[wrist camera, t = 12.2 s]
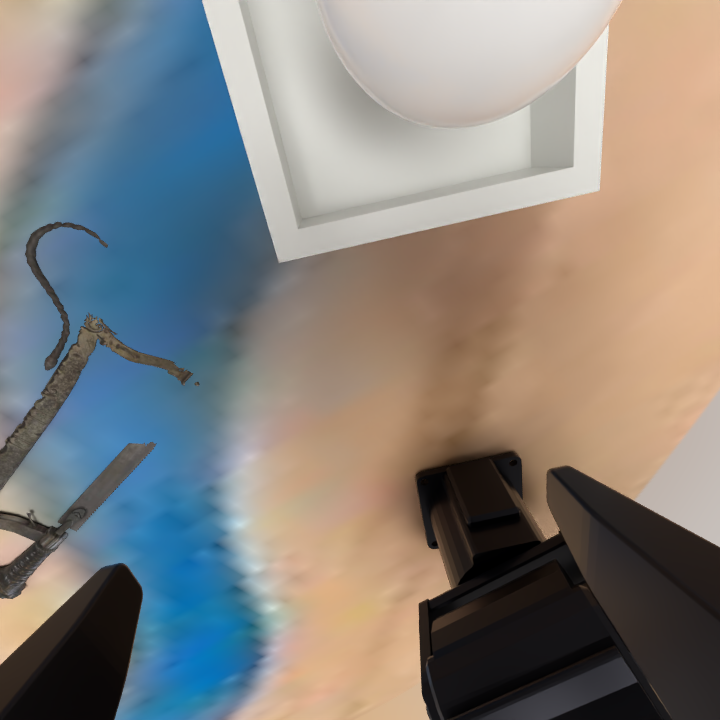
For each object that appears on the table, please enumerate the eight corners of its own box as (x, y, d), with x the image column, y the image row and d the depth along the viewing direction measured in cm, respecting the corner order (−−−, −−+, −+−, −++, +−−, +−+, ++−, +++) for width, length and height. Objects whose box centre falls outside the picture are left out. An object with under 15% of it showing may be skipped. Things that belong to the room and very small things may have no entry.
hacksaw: (20, 590, 27) (5, 612, 26) (-159, 516, 23) (-189, 538, 22) (252, 348, 21) (247, 361, 20) (60, 198, 17) (38, 200, 16)
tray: (544, 186, 18) (599, 190, 15) (287, 244, 18) (278, 263, 15) (544, -209, 13) (630, -352, 9) (185, -123, 13) (134, -233, 10)
